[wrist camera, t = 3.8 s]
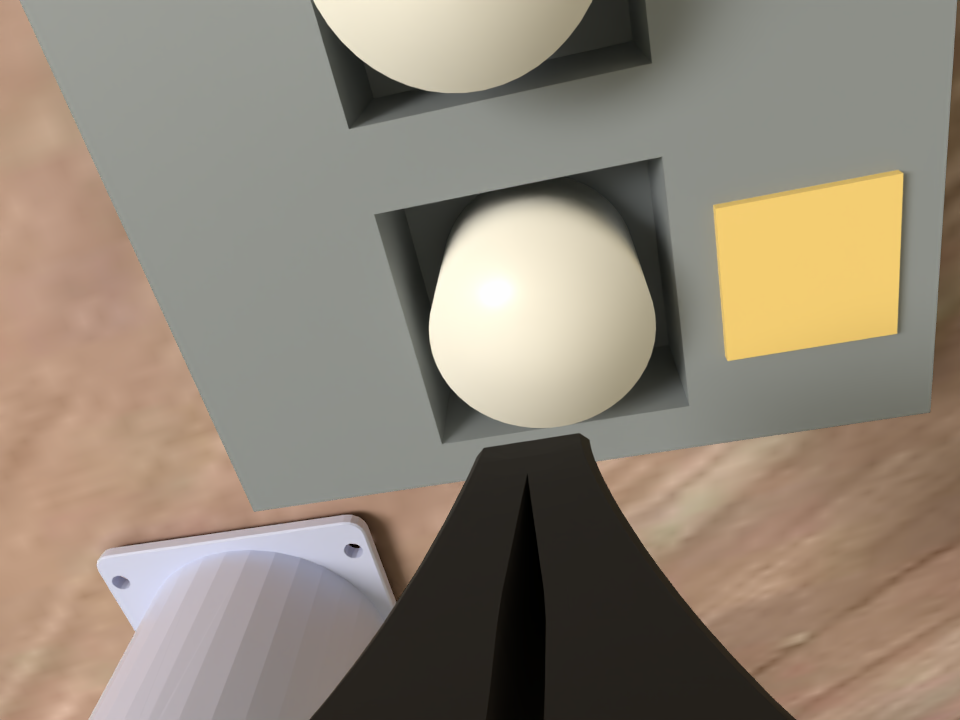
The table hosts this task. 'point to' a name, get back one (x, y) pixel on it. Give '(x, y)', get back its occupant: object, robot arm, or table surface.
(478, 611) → the robot arm
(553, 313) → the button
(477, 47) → the button middle
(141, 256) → the button board
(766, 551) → the table surface
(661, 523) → the table surface
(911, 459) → the table surface
